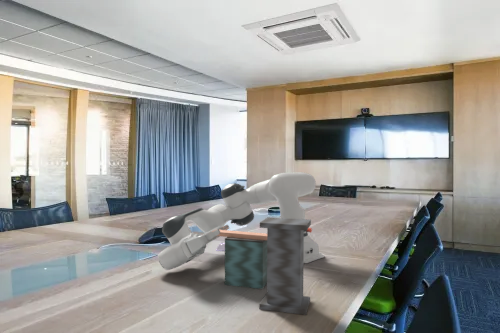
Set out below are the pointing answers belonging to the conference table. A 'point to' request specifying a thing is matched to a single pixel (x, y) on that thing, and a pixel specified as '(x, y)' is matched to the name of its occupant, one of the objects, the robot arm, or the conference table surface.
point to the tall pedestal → (285, 265)
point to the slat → (243, 235)
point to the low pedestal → (245, 262)
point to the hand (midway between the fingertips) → (223, 228)
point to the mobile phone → (221, 247)
